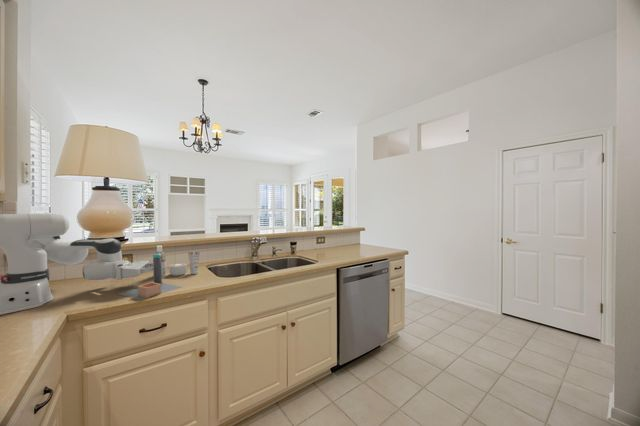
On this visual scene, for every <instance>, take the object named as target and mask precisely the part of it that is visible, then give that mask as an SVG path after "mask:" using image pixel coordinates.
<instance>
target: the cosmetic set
mask: <svg viewBox="0 0 640 426" xmlns="http://www.w3.org/2000/svg"><path fill="white" fill-rule="evenodd" d="M187 253H188V254H187V255H188V259H189V269H190V270H189V273H190V275H197V274H198V273H199V259H200V253H201V250H189V251H187ZM155 254H162V257H161V262H162V278H163V277H166V276H167V256H166V254H165V253H164V251H163V246H162V245H156V252H155ZM187 265H188V264H187V263H186V262H185V263H183V262H180V263H179V262H178V263H172V264H170V265H169V266H168V268H169V270H168V271H169V274H170V275H171V276H173V277H174V276H176V277H179V276H184V275H185V274H186V273H187V270H188V268H187V267H188V266H187ZM152 273H153V276H152V277H153V278H154V270H153V271H152Z"/></svg>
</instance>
